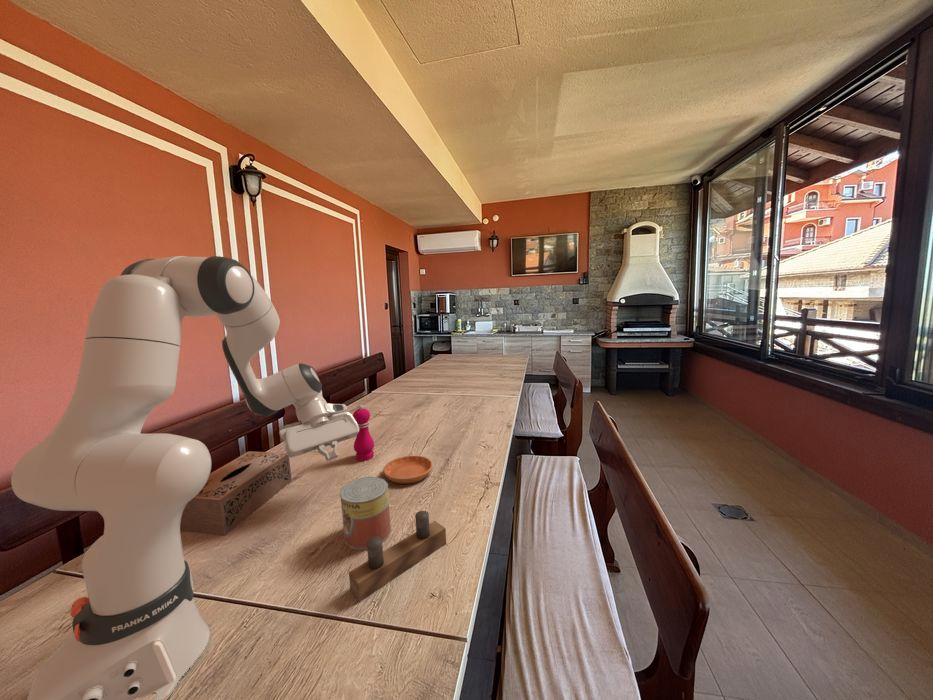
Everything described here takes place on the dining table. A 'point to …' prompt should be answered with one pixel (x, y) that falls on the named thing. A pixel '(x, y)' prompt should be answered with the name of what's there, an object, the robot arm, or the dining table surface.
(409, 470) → the saucer
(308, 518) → the dining table surface
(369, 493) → the canned food
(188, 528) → the tissue box cover
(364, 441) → the pepper mill
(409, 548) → the bench stop
